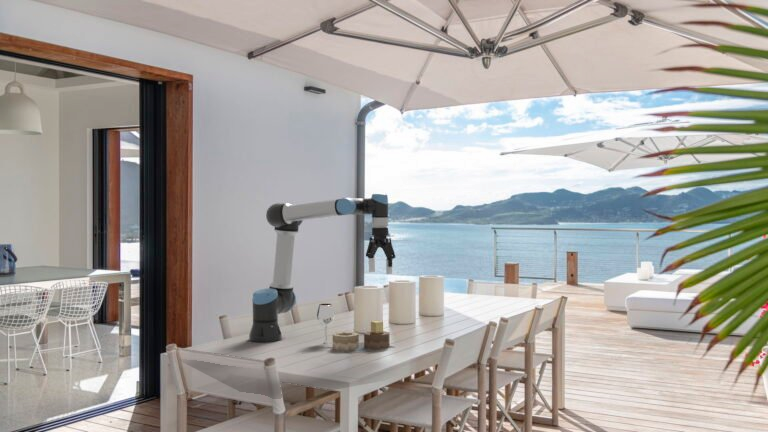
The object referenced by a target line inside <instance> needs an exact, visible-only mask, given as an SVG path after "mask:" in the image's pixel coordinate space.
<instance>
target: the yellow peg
mask: <svg viewBox="0 0 768 432" xmlns="http://www.w3.org/2000/svg"><path fill="white" fill-rule="evenodd" d="M370 331H371V334H383V331H384V322H383V321H380V320H372V321H370Z"/></svg>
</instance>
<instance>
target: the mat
mask: <svg viewBox="0 0 768 432" xmlns="http://www.w3.org/2000/svg"><path fill="white" fill-rule="evenodd" d="M327 348H328V349H332V350H335V349H333V346H328V347H327ZM394 348H395V346H394V345H393V346H392V345H390V346H389V347H388V348H384V349H383V350H388V349H394ZM380 350H382V349H368V348H365V347H364V341H363V342H359V347H358V348H357V349H355V350H349V351H345V350H337V351H338V352H342V353H345V354H348V355H354V354H361V353H367V352H373V351H380ZM335 351H336V350H335Z"/></svg>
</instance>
